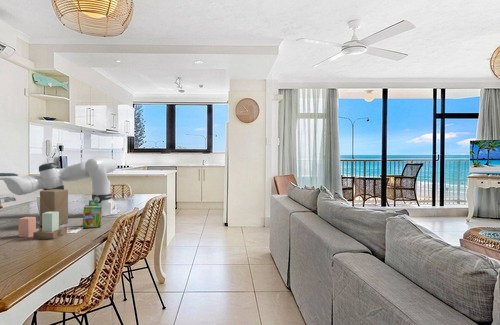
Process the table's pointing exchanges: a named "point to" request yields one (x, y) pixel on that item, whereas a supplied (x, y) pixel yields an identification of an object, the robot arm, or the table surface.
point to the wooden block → (54, 204)
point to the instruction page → (73, 229)
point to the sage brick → (50, 221)
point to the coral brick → (27, 226)
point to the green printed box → (92, 215)
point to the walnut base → (50, 234)
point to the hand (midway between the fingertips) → (7, 200)
